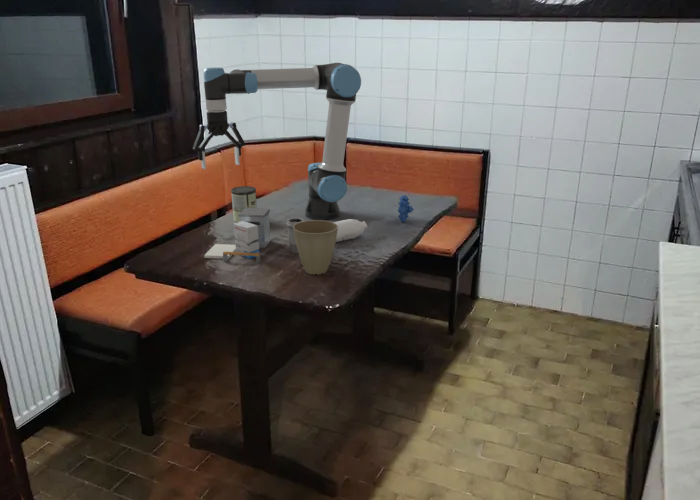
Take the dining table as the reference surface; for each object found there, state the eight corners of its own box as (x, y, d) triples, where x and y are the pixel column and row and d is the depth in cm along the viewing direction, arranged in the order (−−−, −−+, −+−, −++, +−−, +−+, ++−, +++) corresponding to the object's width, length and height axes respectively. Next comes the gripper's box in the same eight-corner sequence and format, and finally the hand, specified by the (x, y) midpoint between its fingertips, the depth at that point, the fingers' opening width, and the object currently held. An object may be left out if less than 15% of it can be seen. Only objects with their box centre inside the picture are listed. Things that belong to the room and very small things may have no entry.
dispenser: (275, 240, 240) (274, 208, 235) (259, 263, 218) (257, 228, 213) (242, 239, 241) (240, 207, 237) (223, 261, 219) (220, 227, 215)
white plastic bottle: (370, 238, 242) (371, 219, 240) (329, 247, 233) (329, 227, 230) (359, 232, 249) (359, 214, 246) (319, 241, 239) (318, 221, 236)
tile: (238, 247, 233) (238, 244, 232) (228, 258, 221) (228, 256, 221) (215, 246, 234) (215, 243, 233) (204, 257, 222) (204, 255, 222)
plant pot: (342, 277, 206) (341, 231, 200) (297, 280, 203) (296, 235, 197) (333, 261, 220) (333, 218, 214) (292, 264, 217) (290, 221, 211)
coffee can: (236, 217, 268) (234, 185, 263) (260, 218, 267) (258, 186, 262) (230, 224, 259) (227, 192, 254) (254, 225, 258) (252, 192, 253)
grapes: (410, 227, 255) (411, 199, 251) (394, 225, 257) (395, 197, 253) (416, 219, 266) (417, 192, 261) (400, 217, 267) (401, 190, 263)
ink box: (260, 255, 224) (258, 225, 220) (249, 259, 221) (247, 228, 217) (245, 250, 230) (243, 220, 226) (234, 253, 226) (232, 223, 222)
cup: (285, 249, 231) (283, 218, 227) (301, 246, 233) (301, 216, 229) (291, 255, 225) (289, 224, 220) (308, 252, 227) (307, 221, 223)
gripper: (244, 107, 240) (247, 160, 248) (180, 112, 228) (186, 168, 236) (251, 109, 234) (254, 164, 242) (187, 114, 222) (192, 172, 230)
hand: (220, 166), depth 239 cm, fingers open, 13 cm apart
